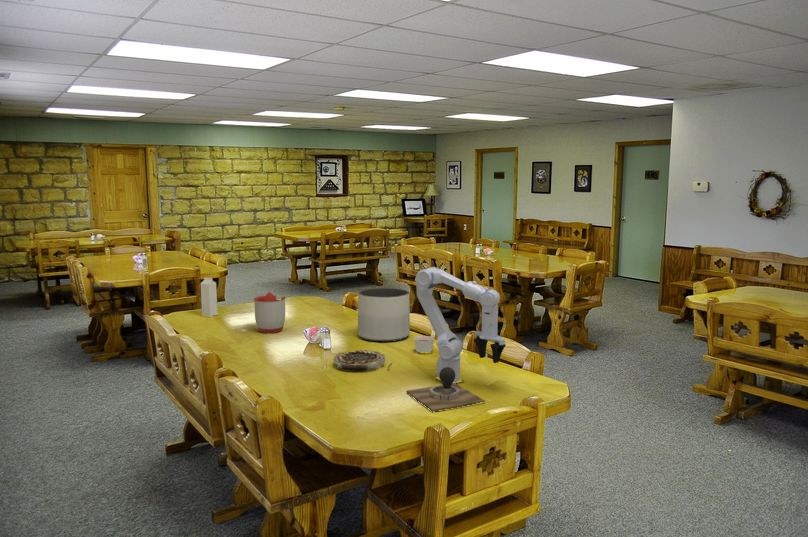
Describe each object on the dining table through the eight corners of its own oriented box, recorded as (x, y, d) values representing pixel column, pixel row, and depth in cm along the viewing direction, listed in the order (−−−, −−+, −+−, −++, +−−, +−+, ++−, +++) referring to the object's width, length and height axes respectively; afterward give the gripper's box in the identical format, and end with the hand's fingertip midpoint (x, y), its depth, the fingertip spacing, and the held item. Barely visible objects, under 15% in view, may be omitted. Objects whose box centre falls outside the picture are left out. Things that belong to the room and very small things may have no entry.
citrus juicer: (295, 329, 305) (294, 290, 302) (270, 336, 290) (269, 296, 288) (272, 325, 313) (271, 287, 311) (248, 331, 299) (246, 292, 296)
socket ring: (425, 393, 209) (425, 387, 208) (449, 388, 213) (449, 383, 213) (438, 402, 200) (438, 396, 200) (464, 397, 204) (464, 392, 204)
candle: (434, 349, 267) (434, 336, 266) (433, 355, 258) (433, 341, 258) (414, 349, 268) (414, 335, 267) (413, 354, 259) (413, 340, 258)
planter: (350, 333, 297) (350, 289, 294) (396, 328, 307) (396, 286, 304) (369, 345, 274) (369, 298, 271) (418, 339, 285) (418, 294, 282)
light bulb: (455, 392, 209) (455, 365, 208) (455, 398, 204) (455, 370, 202) (439, 392, 210) (439, 364, 208) (438, 397, 204) (439, 369, 203)
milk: (209, 314, 338) (207, 276, 336) (217, 315, 336) (216, 277, 333) (201, 316, 333) (200, 277, 330) (210, 317, 330) (208, 278, 328)
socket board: (406, 393, 211) (406, 390, 211) (454, 385, 220) (454, 382, 220) (432, 412, 193) (432, 409, 193) (484, 403, 202) (484, 400, 202)
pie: (383, 379, 228) (383, 366, 227) (315, 375, 233) (315, 363, 233) (398, 358, 255) (398, 347, 255) (337, 355, 261) (337, 344, 260)
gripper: (468, 321, 218) (468, 356, 220) (494, 328, 206) (493, 366, 208) (483, 318, 222) (482, 354, 224) (509, 326, 210) (509, 363, 212)
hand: (489, 360), depth 216 cm, fingers open, 7 cm apart
